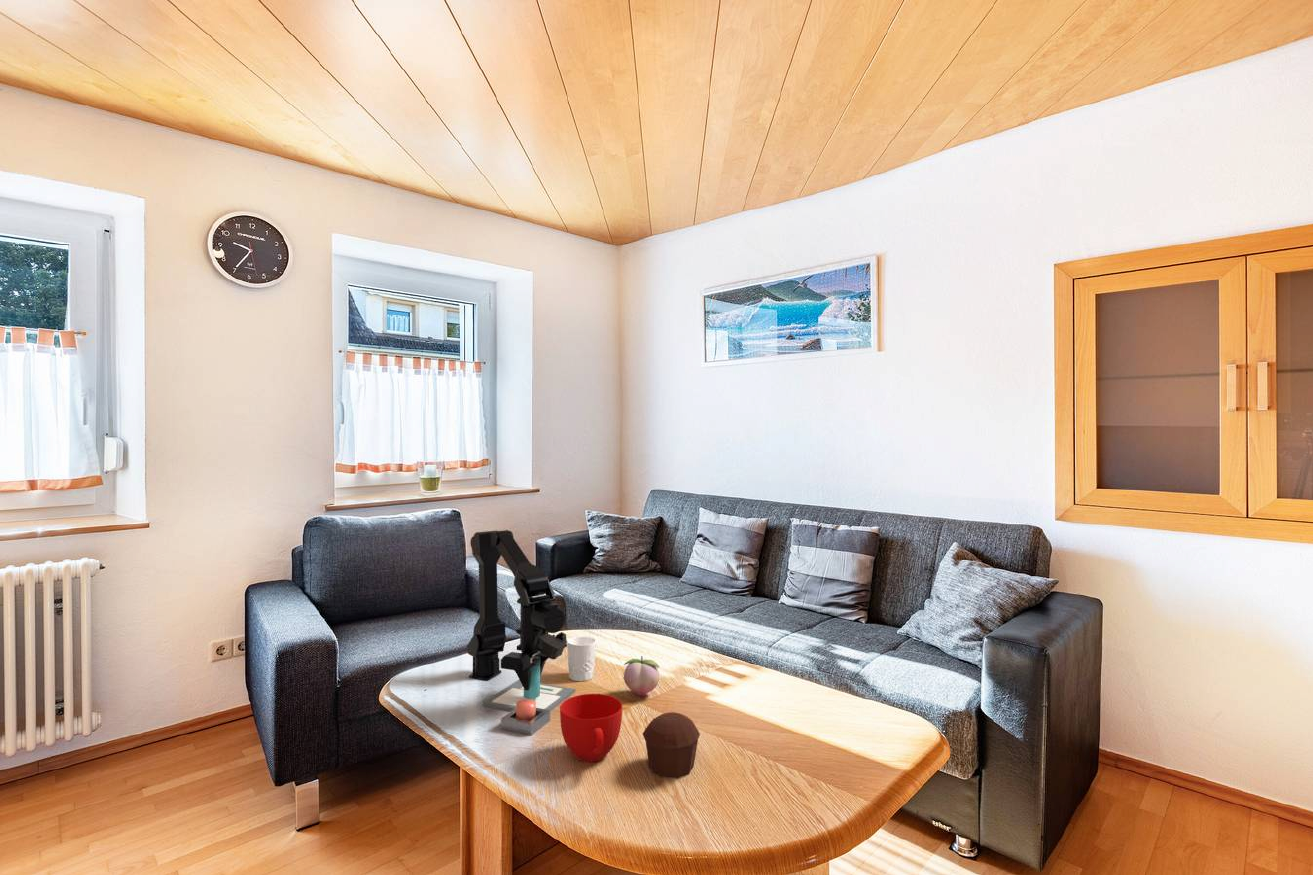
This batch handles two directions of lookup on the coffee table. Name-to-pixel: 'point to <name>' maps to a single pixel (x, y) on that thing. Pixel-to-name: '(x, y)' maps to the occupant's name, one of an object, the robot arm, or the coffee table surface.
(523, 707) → the button
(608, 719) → the ceramic cup
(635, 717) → the coffee table surface
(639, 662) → the decorative fruit
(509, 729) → the button housing
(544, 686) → the drawing board
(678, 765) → the muffin
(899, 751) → the coffee table surface
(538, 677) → the marker
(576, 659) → the white cup
